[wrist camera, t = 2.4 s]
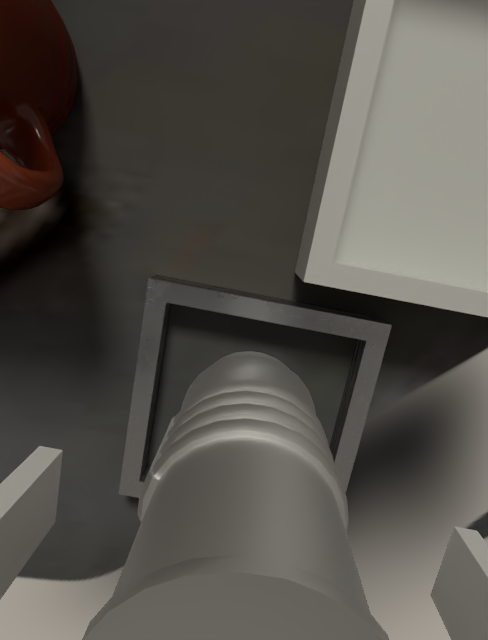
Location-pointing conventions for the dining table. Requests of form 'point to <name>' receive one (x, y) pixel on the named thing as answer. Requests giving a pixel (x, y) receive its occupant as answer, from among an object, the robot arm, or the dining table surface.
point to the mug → (33, 99)
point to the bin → (406, 158)
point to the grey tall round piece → (241, 521)
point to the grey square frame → (257, 307)
